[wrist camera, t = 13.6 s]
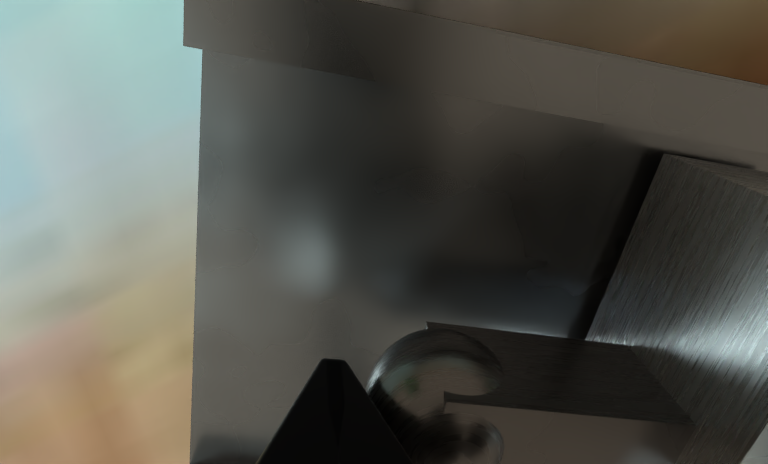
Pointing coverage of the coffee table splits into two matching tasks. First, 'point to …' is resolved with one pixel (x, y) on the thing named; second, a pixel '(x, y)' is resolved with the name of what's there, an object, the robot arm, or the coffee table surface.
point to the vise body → (413, 188)
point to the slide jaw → (613, 350)
